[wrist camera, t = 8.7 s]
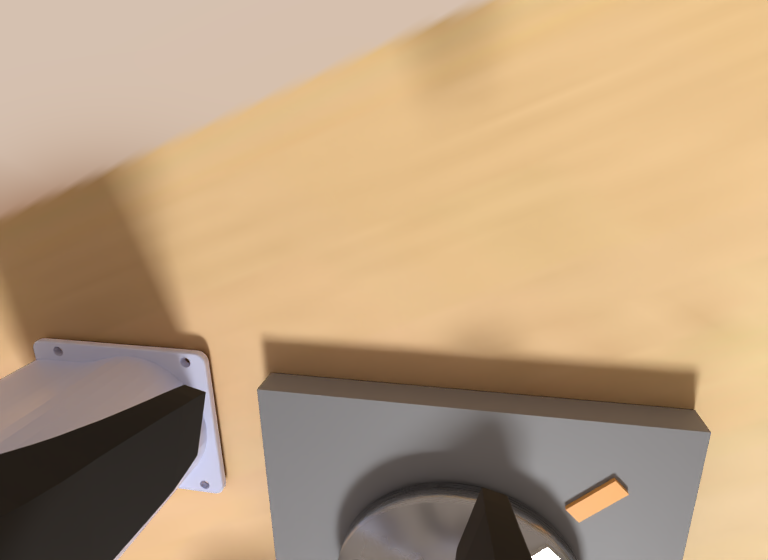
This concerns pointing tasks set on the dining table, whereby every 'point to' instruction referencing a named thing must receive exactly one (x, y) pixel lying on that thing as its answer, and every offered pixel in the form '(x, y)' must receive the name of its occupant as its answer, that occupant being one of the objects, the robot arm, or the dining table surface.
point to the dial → (437, 526)
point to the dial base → (479, 461)
